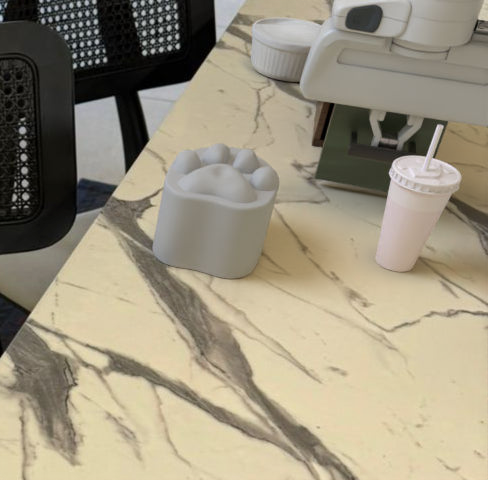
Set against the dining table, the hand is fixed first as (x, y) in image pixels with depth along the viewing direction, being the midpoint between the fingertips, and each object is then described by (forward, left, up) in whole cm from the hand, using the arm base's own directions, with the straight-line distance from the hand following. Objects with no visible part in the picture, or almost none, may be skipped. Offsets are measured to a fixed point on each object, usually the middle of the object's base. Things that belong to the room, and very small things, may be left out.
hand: (384, 152), depth 106 cm
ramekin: (+11, -37, -6) cm, 40 cm away
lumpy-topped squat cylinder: (+15, +15, -6) cm, 22 cm away
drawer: (0, -7, -5) cm, 9 cm away
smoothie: (-3, +12, -6) cm, 13 cm away
